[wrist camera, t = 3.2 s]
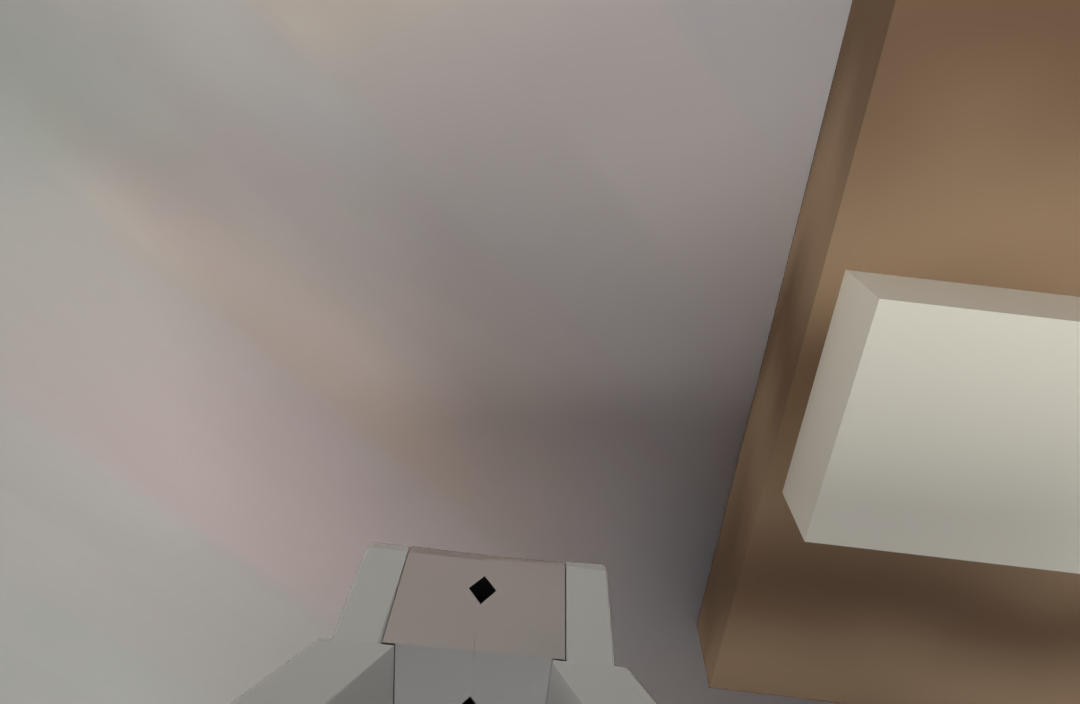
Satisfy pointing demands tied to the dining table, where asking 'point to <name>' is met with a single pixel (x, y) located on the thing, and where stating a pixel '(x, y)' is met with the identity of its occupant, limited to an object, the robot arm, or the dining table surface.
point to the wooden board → (928, 253)
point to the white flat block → (944, 424)
